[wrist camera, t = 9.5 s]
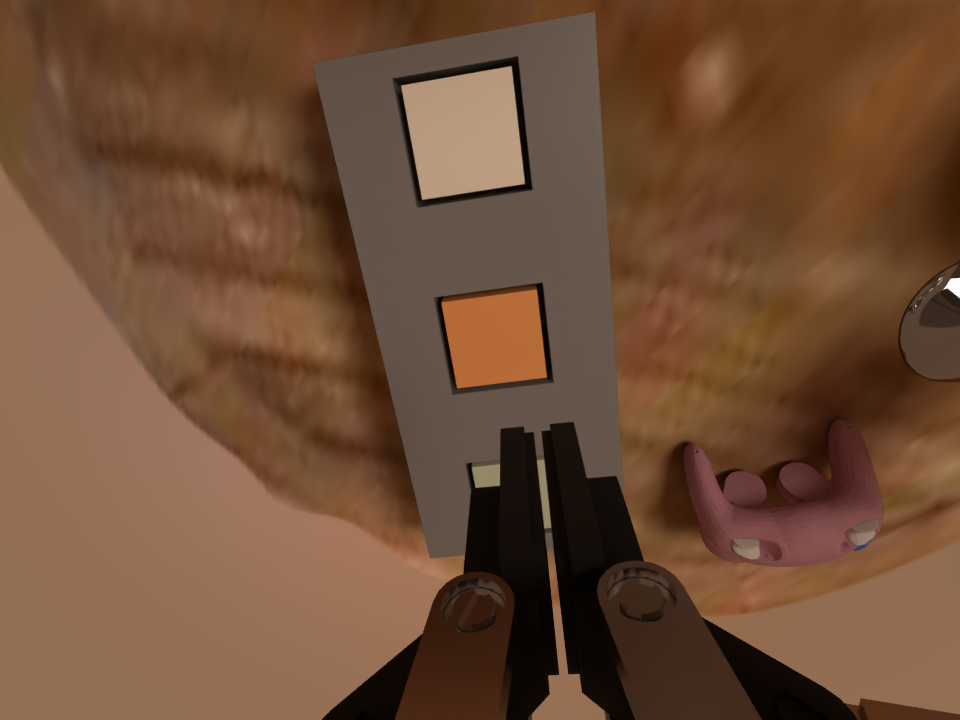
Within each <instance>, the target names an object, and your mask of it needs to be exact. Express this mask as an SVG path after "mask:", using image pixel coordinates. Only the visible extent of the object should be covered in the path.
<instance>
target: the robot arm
mask: <svg viewBox="0 0 960 720" xmlns="http://www.w3.org/2000/svg"><path fill="white" fill-rule="evenodd" d="M541 433H542V443H543V452H544V462H545V472H546V481H547V491H548V501H549V510H550V520H551V529H552V538H553V547H554V555H555V564H556V572H557V581H558V590H559V598H560V607H561V615H562V624H563V631H564V641H565V649H566V657H567V666H568V674H580V681H581V688H582V693H584V694H585V695H586V696H587V697H588V698H590V699H591V700H592V701H593V702H594V703H596V704H597V705H598V706H599V707H601V708H602V709H603V710H604V711H605V718H606V720H960V714H954V713H948V712H942V711H936V710H929V709H923V708H917V707H911V706H905V705H899V704H892V703H887V702H880V701H874V700H868V699H862V698H861V700H860V704H859V706H858V705H851V704H846V703H843V701H842V700H841V699H840V698H838V697H837V696H835V695H834V694H833V693H831V692H829V691H828V690H827V689H826V688H824V687H823V686H821V685H819V684H817V683H816V682H814V681H812V680H810V679H809V678H807V677H805V676H803V675H802V674H800V673H798V672H796V671H794V670H793V669H791V668H790V667H788V666H786V665H784V664H782V663H781V662H779V661H777V660H776V659H774V658H772V657H770V656H769V655H767V654H765V653H763V652H762V651H760V650H758V649H756V648H755V647H753V646H751V645H749V644H747V643H746V642H744V641H742V640H741V639H739V638H737V637H735V636H734V635H732V634H730V633H728V632H727V631H725V630H723V629H721V628H720V627H718V626H716V625H715V624H713V623H711V622H709V621H708V620H706V619H704V618H702V617H701V615H700V614H699V612H698V610H697V609H696V607H695V605H694V604H693V602H692V600H691V598H690V597H689V595H688V593H687V592H686V590H685V588H684V587H683V585H682V584H681V582H680V581H679V580H678V579H677V578H676V576H675V575H674V574H672V573H671V572H669V571H668V570H666V569H665V568H663V567H661V566H658V565H656V564H653V563H650V562H644V559H643V556H642V553H641V550H640V547H639V544H638V541H637V538H636V534H635V531H634V528H633V525H632V522H631V519H630V516H629V513H628V509H627V506H626V503H625V500H624V497H623V494H622V491H621V487H620V484H619V481H618V479H617V477H616V476H608V477H596V478H587V476H586V472H585V468H584V463H583V459H582V455H581V451H580V446H579V442H578V438H577V433H576V429H575V425H574V422H565V423H555V424H550V430H547V431H541ZM548 675H559V669H558V659H557V650H556V639H555V629H554V620H553V609H552V599H551V589H550V579H549V569H548V559H547V549H546V539H545V529H544V520H543V511H542V502H541V493H540V484H539V475H538V466H537V457H536V447H535V438H534V432H526V433H525V431H524V426H523V427H513V428H502V429H501V430H500V486H490V487H479V488H472V489H471V495H470V506H469V517H468V528H467V539H466V550H465V561H464V573H463V575H460V576H457V577H455V578H453V579H452V580H450V581H449V582H447V583H446V584H445V585H444V586H443V587H442V588H441V589H440V590H439V591H438V593H437V595H436V597H435V599H434V601H433V603H432V606H431V610H430V613H429V616H428V619H427V622H426V625H425V628H424V631H423V634H422V635H420V636H419V637H418V638H417V639H416V640H415V641H413V642H412V643H411V644H410V645H408V646H407V647H406V648H405V649H404V650H402V651H401V652H400V653H399V654H398V655H396V656H395V657H394V658H393V659H392V660H390V661H389V662H388V663H387V664H386V665H385V666H383V667H382V668H381V669H380V670H379V671H377V672H376V673H375V674H374V675H373V676H371V677H370V678H369V679H368V680H367V681H365V682H364V683H363V684H362V685H361V686H359V687H358V688H357V689H356V690H355V691H353V692H352V693H351V694H350V695H349V696H347V697H346V698H345V699H344V700H343V701H341V702H340V703H339V704H338V705H337V706H336V707H334V708H333V709H332V710H331V711H330V712H329V713H328V714H327V715H326V716H325V717H324V718H323V719H322V720H532V713H533V712H534V711H535V710H536V709H537V708H538V706H539V705H540V704H541V703H542V702H543V701H544V700H545V698H546V697H547V696H548V695H549V683H548V682H549V681H548Z"/></svg>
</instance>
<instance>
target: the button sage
mask: <svg viewBox="0 0 960 720" xmlns="http://www.w3.org/2000/svg"><path fill="white" fill-rule="evenodd" d="M536 457H537V466H538V475H539V484H540V493H541V502H542V511H543V520H544V528H551V520H550V510H549V501H548V491H547V481H546V472H545V462H544V455H539V456H536ZM472 471H473V477H474V482H475V487H476V488H479V487H490V486H500V460H493V461H484V462H474V463H472Z"/></svg>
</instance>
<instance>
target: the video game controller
mask: <svg viewBox="0 0 960 720" xmlns="http://www.w3.org/2000/svg"><path fill="white" fill-rule="evenodd" d="M828 451H829V461H830V469H831V475H832V478H831V480H828V479H827V478H826V477H824V476H823V475H821V474H820V473H819V472H818V471H816V470H815V469H814V468H813V467H811V466H809V465H808V464H805V463H800V462H794V463H790V464H787V465H785V466H784V467H783V468H782V469H781V471H780V473H779V475H778V477H777V480H776V488H777V491H778V492H779V494H780V495H781V496H782V497H783V498H784V499H785V500H786V501H787V502H789V503H790V504H791V505H784V506H775V507H765V508H761V507H762V505H763V504H764V502H765V499H766V495H767V492H766V487H765V484H764V482H763V481H762V479H761V478H759V477H758V476H757V475H755V474H753V473H750V472H747V471H736V472H733V473H731V474H729V475H728V477H727V478H726V480H725V482H724V484H723V488H722V491H721V489H720V487H719V485H718V483H717V480H716V477H715V475H714V472H713V469H712V466H711V463H710V461H709V459H708V457H707V456H706V454H705V453H704V451H703V450H702V449H701V448H700V447H699V445H697V444H696V443H689V444H687V446H686V447H685V450H684V455H683V461H684V471H685V477H686V482H687V486H688V489H689V493H690V498H691V501H692V504H693V507H694V510H695V512H696V515H697V518H698V521H699V524H700V533H701V537H702V540H703V542H704V544H705V546H706V547H707V548H708V549H709V550H710V551H711V552H712V553H713V554H715V555H716V556H718V557H719V558H722V559H724V560H727V561H730V562H735V563H740V562H748V563H752V564H757V565H764V566H774V567H795V566H806V565H812V564H817V563H823V562H826V561H830V560H834V559H836V558H839V557H842V556H844V555H847V554H849V553H851V552H852V551H856V550H860V549H863V548H864V547H866V546H867V545H868V544H869V543H870V542H871V541H872V539H873V538H874V537H875V535H876V534H877V533H878V532H879V530H880V528H881V526H882V523H883V513H884V509H883V503H882V497H881V493H880V490H879V487H878V483H877V480H876V476H875V473H874V469H873V466H872V463H871V460H870V457H869V454H868V451H867V447H866V445H865V443H864V440H863V438H862V436H861V435H860V433H859V432H858V430H857V429H856V428H855V427H854V426H853V425H852V424H851V423H850V422H849V421H847V420H845V419H837V420H835V421H834V422H832V424H831V428H830V430H829V437H828Z"/></svg>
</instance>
